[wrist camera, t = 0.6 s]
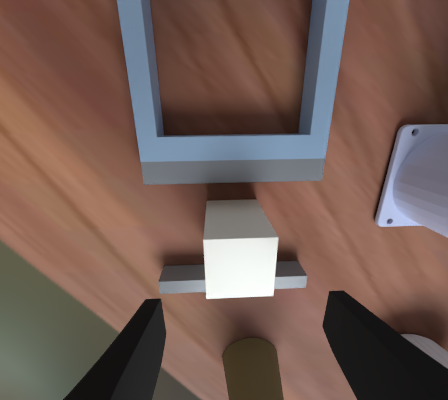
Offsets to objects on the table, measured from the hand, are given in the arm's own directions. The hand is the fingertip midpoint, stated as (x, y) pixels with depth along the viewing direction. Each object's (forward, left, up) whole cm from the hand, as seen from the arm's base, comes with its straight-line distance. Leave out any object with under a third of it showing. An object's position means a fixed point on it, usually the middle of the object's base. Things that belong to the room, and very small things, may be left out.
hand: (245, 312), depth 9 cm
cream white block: (0, 0, -9) cm, 9 cm away
